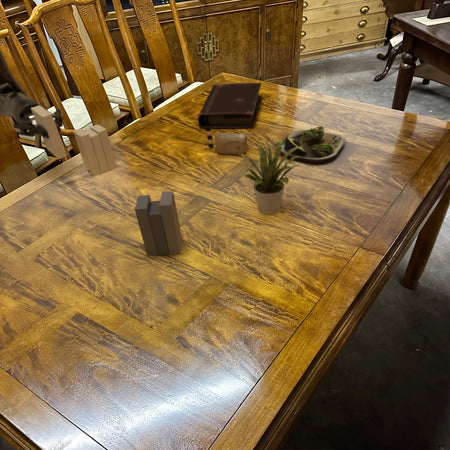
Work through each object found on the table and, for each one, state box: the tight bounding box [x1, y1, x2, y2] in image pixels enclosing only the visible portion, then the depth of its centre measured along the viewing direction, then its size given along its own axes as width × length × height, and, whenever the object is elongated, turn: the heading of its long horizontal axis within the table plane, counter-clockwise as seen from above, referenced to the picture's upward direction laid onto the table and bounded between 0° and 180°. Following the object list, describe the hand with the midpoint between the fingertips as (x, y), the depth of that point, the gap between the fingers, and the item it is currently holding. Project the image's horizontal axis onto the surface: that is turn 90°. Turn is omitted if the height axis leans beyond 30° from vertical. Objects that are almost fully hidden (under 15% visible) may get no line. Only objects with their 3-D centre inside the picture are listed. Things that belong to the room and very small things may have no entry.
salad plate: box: [272, 125, 345, 165], centre depth 118 cm, size 19×18×5 cm
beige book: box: [31, 104, 68, 160], centre depth 108 cm, size 8×2×11 cm, turn 39°
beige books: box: [72, 124, 118, 177], centre depth 116 cm, size 5×7×12 cm
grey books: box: [134, 190, 183, 257], centre depth 88 cm, size 5×7×12 cm
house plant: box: [237, 137, 303, 216], centre depth 94 cm, size 14×14×16 cm
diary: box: [197, 82, 262, 129], centre depth 139 cm, size 19×25×5 cm
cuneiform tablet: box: [204, 126, 248, 155], centre depth 119 cm, size 7×4×12 cm
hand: (52, 132), depth 105 cm, fingers closed on beige book, 2 cm apart
